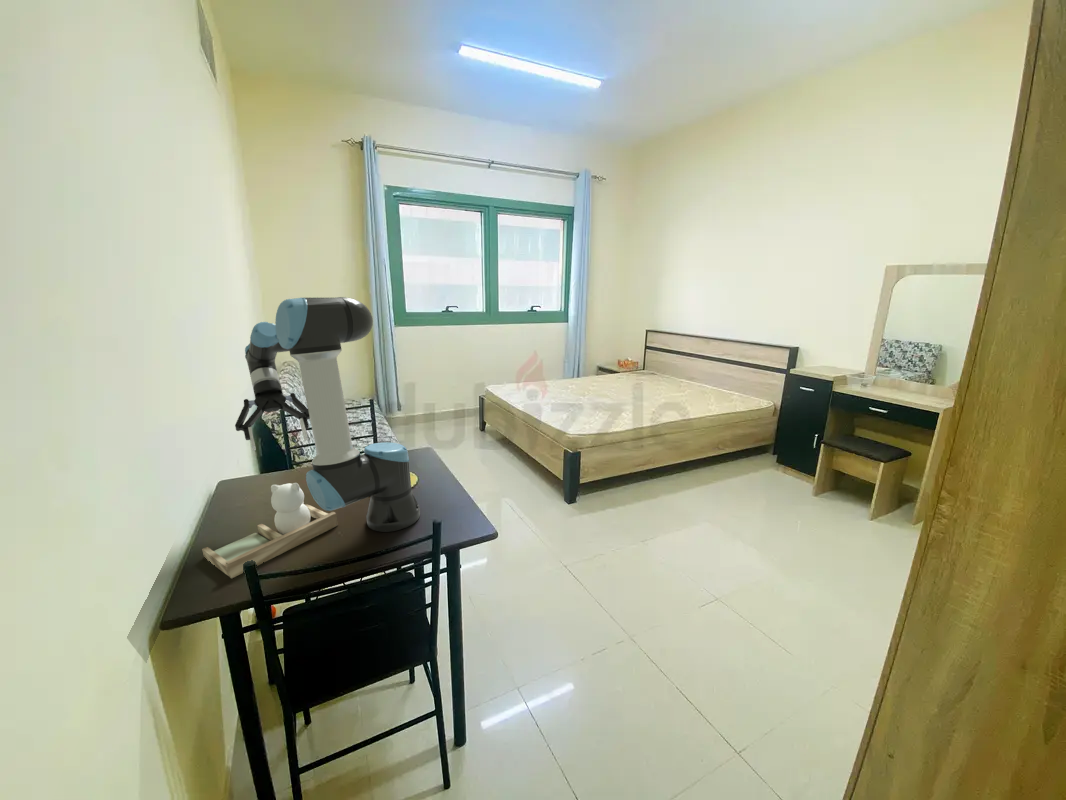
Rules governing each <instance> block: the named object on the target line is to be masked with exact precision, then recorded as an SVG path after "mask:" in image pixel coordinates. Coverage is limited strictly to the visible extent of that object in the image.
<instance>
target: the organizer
mask: <svg viewBox="0 0 1066 800" xmlns="http://www.w3.org/2000/svg"><path fill="white" fill-rule="evenodd" d="M305 505H306V506H307V507H308V509H309V512H310V516H311V517H312V518H314V520H312V521H310V522H309V523H308V524H306V525H303V526H301V527H299V528H297V529H295V530H293V531H291V532H288V533H286V534H284V535H282V534H281V533H280V532H279V531H276V530H274V529H272V528H270V527H269V526H267V525H265V524H263V523H260V524H258V525H256V527H257V531H258V533H257V532H254V533H252V534H249V535H247V536H244V537H243V538H239V539H237V540H235V541H233V542H231V543H229V544H226V545H224V546H222V547H220V548H218V549H215V550H213V549H212V548H210V547H209V546H206V547H204V548H202V549H201V550H202V553H203V558H204V557H205V558H206V559H207V560H206V559H205V558H204V559H205V560H206V561H208V562H209V561H210V562H211V563H210V562H209V563H210V564H212V565H213V566H214V565H215V567H216V568H217V569H218V570H220V571H221V572H222V573H224V574H225V575H226V576H228V577H229V578H230V579H233V578H236V577H237V576H240V575H242V574H243V564H244V563H245V562H247V561H251V560H253V561H255V562H256V564H257V566H256V567H258V566H260V565H262V564H263V562H264V563H266V562H268V561H270V560H272V559H273V558H275V557H277V556H280V555H282V554H283V553H286V552H287V551H290V550H292V549H294V548H296V547H297V546H300V545H302V544H303V543H306V542H308V541H310V540H311V539H314V538H316V537H318V536H319V535H322V534H324V533H325V532H328V531H329V530H332V529H333V528H336V527H338V526H339V524H338V523H339V522H338V517H337V512H335V511H330V513H328V512H327V511H326V512H325V511H323V510H322V509H318V508H316V507H314V506H312V505H310V504H308V503H306V504H305Z"/></svg>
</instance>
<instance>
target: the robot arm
mask: <svg viewBox="0 0 1066 800" xmlns="http://www.w3.org/2000/svg"><path fill="white" fill-rule="evenodd" d="M275 314H276V315H275V323H273V322H272V323H270V322H268V321H261V322H258V323H256V324H255V325H254V326H253V327H252V330H251V334H250V337H249V338H250V340H249V344H248V345H246V346H245V348H244V354H245V356H244V357H245V359H246V363H247V367H248V368H247V369H248V371H249V376H250V381H251V385H252V390H253V395H254V399H253V400H249V398H245V399H243V407H242V409H241V412H240V413H239V415H238V418H237V420H236V423H235V425H234V427H235V430H236V431H237V432H240V431H242V432H243V434H244V438H245V439H244V440H246V441H250V443H251V450H252V452H253V451H256V449H257V448H256V444H255V440H254V435H253V429H252V427H253V425H254V424H255V423H256V421H258V419H259V418H260V417H261V416H262V415H263V414H264V413H265V412H266V413H271V412H279V410H281V411H283V412H285V413H287V414H289V415H291V416H292V417H294V418H296V419H298V420H299V425H300V427H301V433H302V436H303V440H304V441H308V433H307V430H309V427H310V425H311V430H312V431H311V432H312V437H313V441H314V445H315V452H316V454H315V456H314V457H313V459H312V460H311V466H312V469H310V470H309V471H307V472H306V474H305V481H306V485H307V487H308V490H309V492H310V495H311V496H312V498H313V500H314V501H315V503H316V504H317V505H318V506H319V507H320V508H321V510H322V509H323V510H324V511H326V512H333V511H335V510H338V509H340V508H343V509H344V508H345V507H347V506H350V505H352V504H354V503H357V502H359V501H361V500H364V499H366V498H369V497H370V500H369V504H368V508H367V513H366V516H365V517H366V525H367V527H368V528H369V529H370V530H372V531H375V532H381V533H386V532H387V533H388V532H389V533H391V532H397V531H400V530H403V529H406V528H408V527H410V526H412V525H414V524H415V523H417V521H418V520H419V519H420V517H421V511H420V504H419V503H418V501H417V499H416V497H415V495H414V492H413V491H412V480H411V468H410V458H409V451H408V449H407V448H406V446H404V445H403V444H400V443H397V442H387V441H385V442H375V443H370V444H368V445H367V446H365V447H364V449H363V453H364V454H361V453H360V450H359V449H356V448H355V447H354V446H353V442H352V437H351V430H350V426H349V420H348V414H347V408H346V403H345V398H344V391H343V387H342V381H341V377H340V370H339V363H338V359H337V358H338V356H339V355H340V353H341V352H342V345H341V344H344V343H352V342H356V341H359V340H361V339H364V338H365V337H367V336H368V335H369V334H370V333H371V331H372V328H373V326H374V321H373V316H372V313H371V311H370V309H369V308H368V307H367V306H366V305H365V303H362V302H361V301H360V300H357V299H355V298H352V297H346V296H338V297H297V298H288V299H284V300H283V301H281V303H279V305H278V307H277V310H276V313H275ZM286 352H289V355H290V357H291V358H293V359H295V360H296V361H297V362H298V363H299V371H300V375H301V380H302V384H303V390H304V395H305V400H306V404H307V405H306V406H305V405H304V404H303V402H301V401H300V400H299V399H298V398H297V396H296V394H295V393H294V392H291V393H290V394H289V395H285V394H284V392H283V389H282V385H281V380H280V377H279V374H278V370H277V366H276V357H277V354H278V353H286ZM286 401H288V402H290V403H292V404H293V406H294V407H296V408H294V407H292V406H291V405H289V404H288V403H287V402H286ZM254 405H255V407H256V409H255V410H254V411H253V413H252V414H251V415H250V416H249V417H248V419H247V416H248V414H249V412H250V409H252V407H253V406H254ZM246 419H247V420H246ZM308 420H309V421H310V425H309V421H308Z"/></svg>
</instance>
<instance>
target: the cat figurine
mask: <svg viewBox="0 0 1066 800" xmlns="http://www.w3.org/2000/svg"><path fill="white" fill-rule="evenodd" d="M270 490H271V497H270V503H271V504H270V505H271V506H272V508H273V510H274V511H276V513H275V515H274V519H273V520H274V525H275V528H276V530H277V532H278V533H280V534H281V535H284V534H286V533H288V532H291V531H293V530H295V529H297V528H299V527H301V526H303V525H306V524H308V523H310V522H311V517H312V516H310V512H309V509H308V507H307V506H306V504H304V503H305V502H304V500H305V494H304V491H303V490H302V488H301V487H300V485H299V483H297V482H293V483H284V484H280V485H279V484H271V486H270Z"/></svg>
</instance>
